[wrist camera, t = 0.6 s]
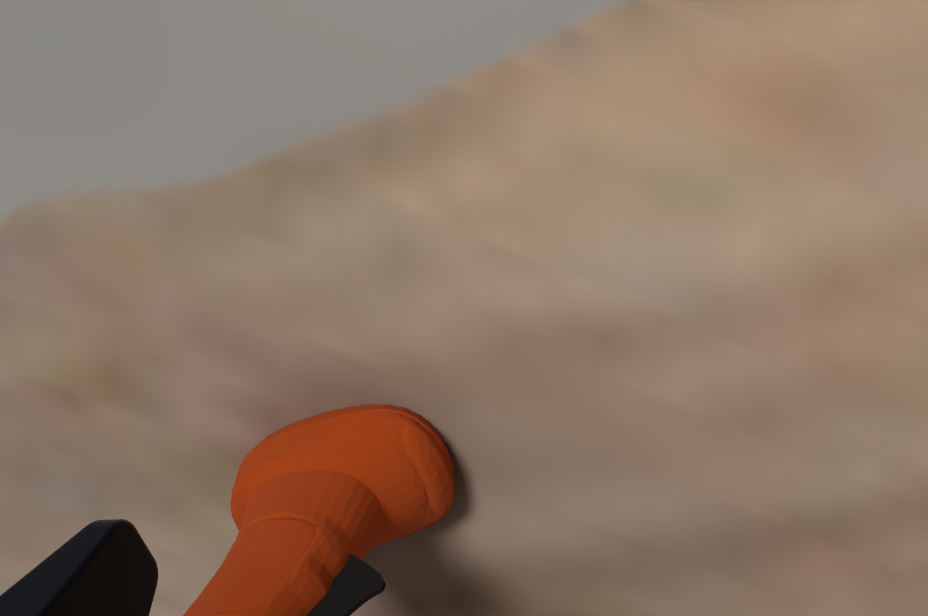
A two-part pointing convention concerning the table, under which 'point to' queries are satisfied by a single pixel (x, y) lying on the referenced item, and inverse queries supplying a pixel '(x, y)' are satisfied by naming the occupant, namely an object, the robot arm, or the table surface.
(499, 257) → the table surface
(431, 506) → the toy drill
